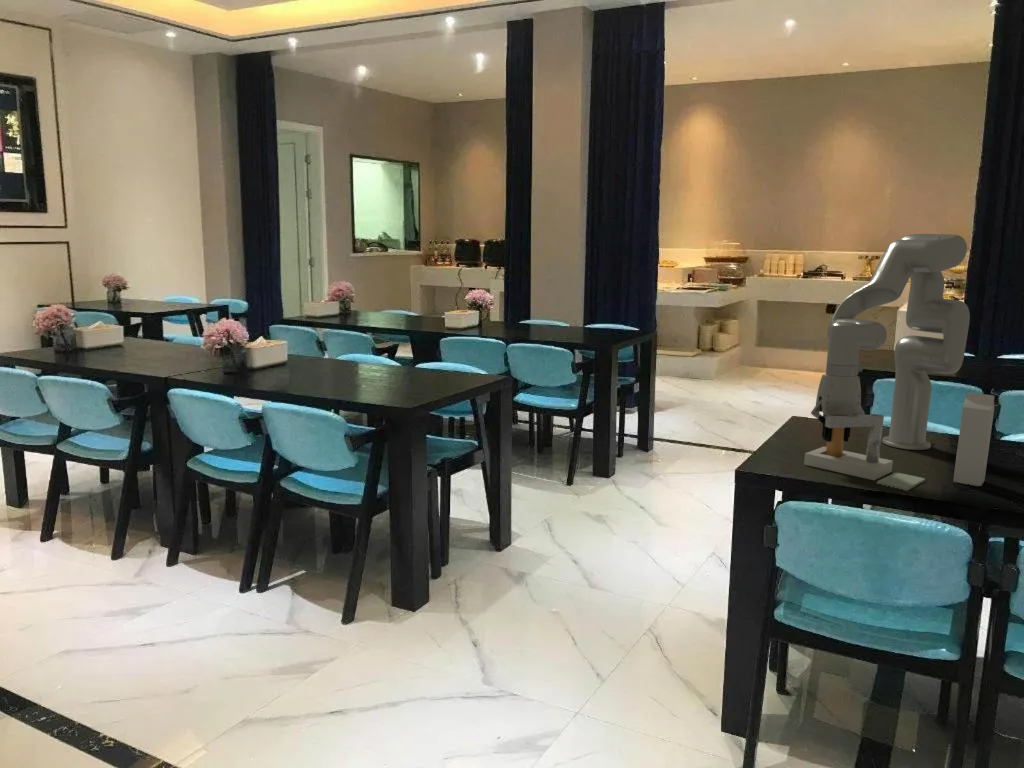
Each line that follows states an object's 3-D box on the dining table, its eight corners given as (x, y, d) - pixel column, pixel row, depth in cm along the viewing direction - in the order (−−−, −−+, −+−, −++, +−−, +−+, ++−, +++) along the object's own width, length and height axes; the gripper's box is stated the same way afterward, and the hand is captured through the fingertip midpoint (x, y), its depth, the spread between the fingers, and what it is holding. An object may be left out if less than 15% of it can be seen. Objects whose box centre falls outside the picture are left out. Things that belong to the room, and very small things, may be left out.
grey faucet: (820, 461, 200) (824, 415, 198) (873, 458, 204) (878, 413, 202) (827, 465, 198) (832, 418, 196) (881, 462, 202) (886, 416, 199)
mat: (895, 474, 203) (895, 472, 203) (924, 480, 198) (925, 478, 198) (876, 483, 195) (876, 481, 194) (906, 490, 190) (907, 488, 190)
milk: (980, 487, 194) (993, 397, 190) (952, 482, 198) (964, 393, 194) (984, 481, 199) (996, 393, 195) (956, 476, 203) (968, 390, 198)
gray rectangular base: (822, 457, 217) (823, 446, 217) (891, 472, 205) (892, 460, 204) (804, 464, 210) (805, 453, 209) (874, 480, 197) (875, 468, 197)
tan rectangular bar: (829, 456, 213) (833, 412, 211) (844, 459, 210) (848, 414, 208) (822, 459, 210) (826, 414, 208) (837, 462, 207) (842, 416, 205)
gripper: (865, 368, 210) (859, 436, 214) (803, 368, 209) (797, 436, 212) (881, 373, 203) (873, 443, 206) (816, 373, 201) (810, 444, 205)
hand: (835, 439), depth 209 cm, fingers closed on tan rectangular bar, 4 cm apart
